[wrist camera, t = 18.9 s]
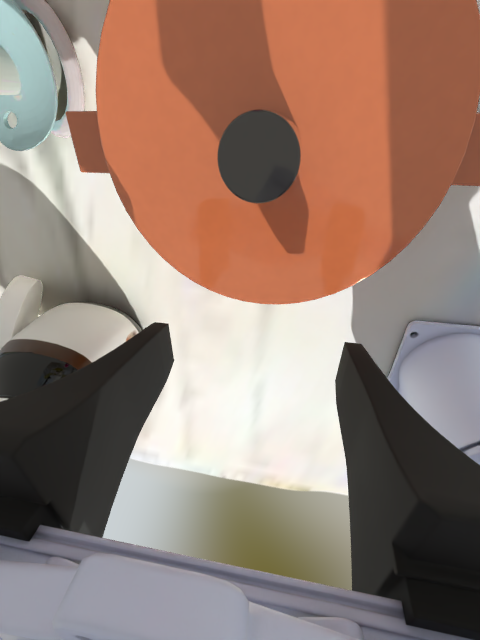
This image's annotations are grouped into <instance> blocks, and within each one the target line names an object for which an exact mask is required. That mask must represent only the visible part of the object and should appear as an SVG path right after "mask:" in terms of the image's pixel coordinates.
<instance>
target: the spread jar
mask: <svg viewBox="0 0 480 640" xmlns="http://www.w3.org/2000/svg"><path fill="white" fill-rule="evenodd" d="M42 295H43V285H42V282H41V281H40V280H38V279H34V278H30V277H27V276H23V275H18V276H16V277H15V278H14V279H13V280H12V281H11V282H10V283H9V285H8V286H7V287H6V289H5V291H4V293H3V294H2V296H1V298H0V402H1V401H4V400H7V399H10V398H13V397H15V396H18V395H21V394H24V393H27V392H29V391H32V390H35V389H37V388H40V387H42V386H44V385H47V384H49V383H51V382H54V381H56V380H58V379H61V378H63V377H65V376H67V375H69V374H71V373H73V372H75V371H77V370H79V369H81V368H83V367H85V366H87V365H89V364H91V363H92V362H94V361H96V360H97V359H99V358H101V357H102V356H104V355H106V354H107V353H109V352H110V351H112V350H114V349H115V348H117V347H118V346H120V345H121V344H123V343H124V342H126V341H127V340H129V339H130V338H132V337H133V336H135V335H136V334H138V333H139V332H141V331H142V330H141V328H140V327H139V325H138V324H137V323H136V322H135V321H134V320H133V319H132V318H131V317H130V316H128V315H127V314H126V313H124V312H122V311H120V310H118V309H116V308H113V307H110V306H107V305H103V304H98V303H90V302H76V303H66V304H61V305H59V306H56V307H53V308H52V309H50V310H48V311H46V312H45V313H43V314H42V315H40V316H39V317H38V314H39V311H40V307H41V302H42Z"/></svg>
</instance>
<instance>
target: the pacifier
mask: <svg viewBox="0 0 480 640" xmlns="http://www.w3.org/2000/svg"><path fill="white" fill-rule="evenodd" d="M26 12H30V13H31V14H33V15H34V16H35V17H36V18H37V20H38V21H39V22H40V23H41V24H42V25H43V27H44V28H45V30H46V31H47V33H48V35H49V36H50V38H51V40H52V42H53V44H54V46H55V48H56V50H57V52H58V55H59V58H60V60H61V63H62V66H63V70H64V75H65V79H66V86H67V107H66V110H65V112H66V111H84V107H85V97H84V84H83V80H82V75H81V70H80V65H79V62H78V59H77V56H76V53H75V50H74V47H73V45H72V43H71V41H70V38H69V36H68V34H67V32H66V30H65V28H64V26H63V24H62V23H61V21H60V20H59V18H58V17H57V15H56V13H55V12H54V10H53V9H52V8H51V7H50V6H49V4H48V3H47V2H46V1H45V0H0V141H1V143H2V144H3V145H5V146H6V147H7V148H9V149H12V150H16V151H24V150H29V149H32V148H34V147H36V146H37V145H39V144H40V143H41V142H43V141H44V140H45V139H46V138H47V137H48V135H49V134H50V132H51V133H52V134H54V135H56V136H58V137H64V138H67V137H70V136H71V133H70V129H69V125H68V121H67V118H66V114H65V113H64V115H63V117H62V118H61V119H60V120H56V116H57V107H58V96H57V87H56V81H55V76H54V73H53V69H52V66H51V63H50V60H49V57H48V55H47V52H46V50H45V47H44V45H43V43H42V41H41V39H40V38H39V36H38V34H37V32H36V30H35V28H34V27H33V25H32V24H31V22H30V21H29V19H28V18H27V17H26V15H25V14H24V13H26ZM10 112H13V113H14V114H15V115H16V117H17V125H16V127H15V128H14V129H13V128H11V127H10V126H9V124H8V121H7V117H8V114H9V113H10Z"/></svg>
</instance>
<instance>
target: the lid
mask: <svg viewBox="0 0 480 640" xmlns="http://www.w3.org/2000/svg"><path fill="white" fill-rule="evenodd" d="M479 96H480V15H479V10H478V6H477V1H476V0H110V2H109V5H108V9H107V13H106V17H105V20H104V24H103V28H102V32H101V39H100V45H99V52H98V58H97V74H96V103H97V119H98V125H99V131H100V138H101V144H102V148H103V152H104V155H105V159H106V163H107V166H108V170H109V173H110V175H111V178H112V180H113V183H114V186H115V188H116V191H117V193H118V195H119V197H120V199H121V201H122V203H123V205H124V207H125V209H126V211H127V213H128V214H129V216H130V217H131V219H132V221H133V222H134V224H135V225H136V227H137V229H138V230H139V231H140V233H141V234H142V235H143V236H144V238H145V239H146V240H147V241H148V243H149V244H150V245H151V246H152V247H153V248H154V249H155V250H156V252H157V253H158V254H159V255H160V256H161V257H162V258H163V259H164V260H165V261H167V262H168V263H169V264H170V265H171V266H173V267H174V268H175V269H176V270H177V271H179V272H180V273H182V274H183V275H185V276H186V277H188V278H189V279H191V280H192V281H194V282H195V283H197V284H199V285H201V286H203V287H205V288H207V289H209V290H211V291H213V292H216V293H219V294H221V295H224V296H226V297H230V298H234V299H238V300H241V301H246V302H253V303H260V304H290V303H299V302H305V301H310V300H315V299H319V298H322V297H325V296H328V295H331V294H335V293H337V292H339V291H341V290H344V289H346V288H348V287H351V286H353V285H355V284H356V283H358V282H360V281H362V280H363V279H365V278H367V277H369V276H370V275H372V274H373V273H375V272H376V271H377V270H379V269H380V268H382V267H383V266H384V265H386V264H387V263H388V262H390V261H391V260H392V259H393V258H394V257H395V256H396V255H397V254H399V253H400V252H401V251H402V250H403V249H404V248H405V247H406V246H407V245H408V244H409V243H410V242H411V241H412V240H413V239H414V238H415V236H416V235H417V234H418V233H419V232H420V231H421V230H422V229H423V227H424V226H425V225H426V223H427V222H428V221H429V219H430V218H431V216H432V215H433V214H434V212H435V211H436V209H437V208H438V207H439V205H440V203H441V202H442V200H443V198H444V196H445V195H446V193H447V191H448V189H449V188H450V186H451V184H452V182H453V180H454V178H455V176H456V174H457V171H458V169H459V167H460V164H461V162H462V160H463V157H464V155H465V153H466V149H467V146H468V143H469V139H470V136H471V133H472V129H473V126H474V123H475V118H476V112H477V107H478V101H479Z"/></svg>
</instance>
